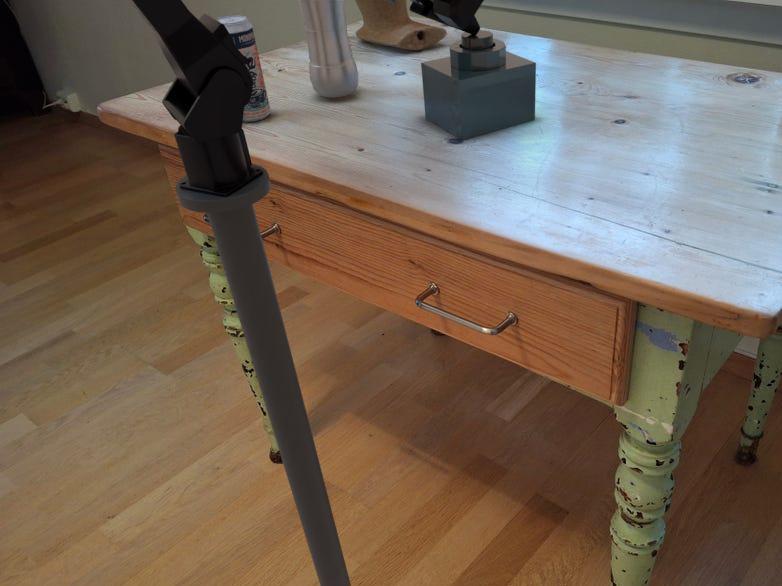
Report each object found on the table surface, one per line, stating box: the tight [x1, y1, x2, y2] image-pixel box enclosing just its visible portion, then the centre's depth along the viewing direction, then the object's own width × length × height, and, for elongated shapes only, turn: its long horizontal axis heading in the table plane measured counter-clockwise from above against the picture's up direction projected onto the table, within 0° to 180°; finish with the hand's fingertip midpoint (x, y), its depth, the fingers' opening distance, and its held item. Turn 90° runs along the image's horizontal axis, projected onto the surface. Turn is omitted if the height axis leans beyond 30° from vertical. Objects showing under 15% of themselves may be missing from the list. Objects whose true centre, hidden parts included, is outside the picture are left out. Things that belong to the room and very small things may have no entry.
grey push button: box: [460, 29, 494, 51], centre depth 84 cm, size 4×4×2 cm
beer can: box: [215, 14, 272, 123], centre depth 89 cm, size 5×5×12 cm
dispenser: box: [420, 38, 537, 141], centre depth 87 cm, size 11×9×9 cm
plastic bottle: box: [297, 0, 359, 98], centre depth 93 cm, size 6×7×20 cm
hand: (476, 31), depth 83 cm, fingers closed, pressing on grey push button
